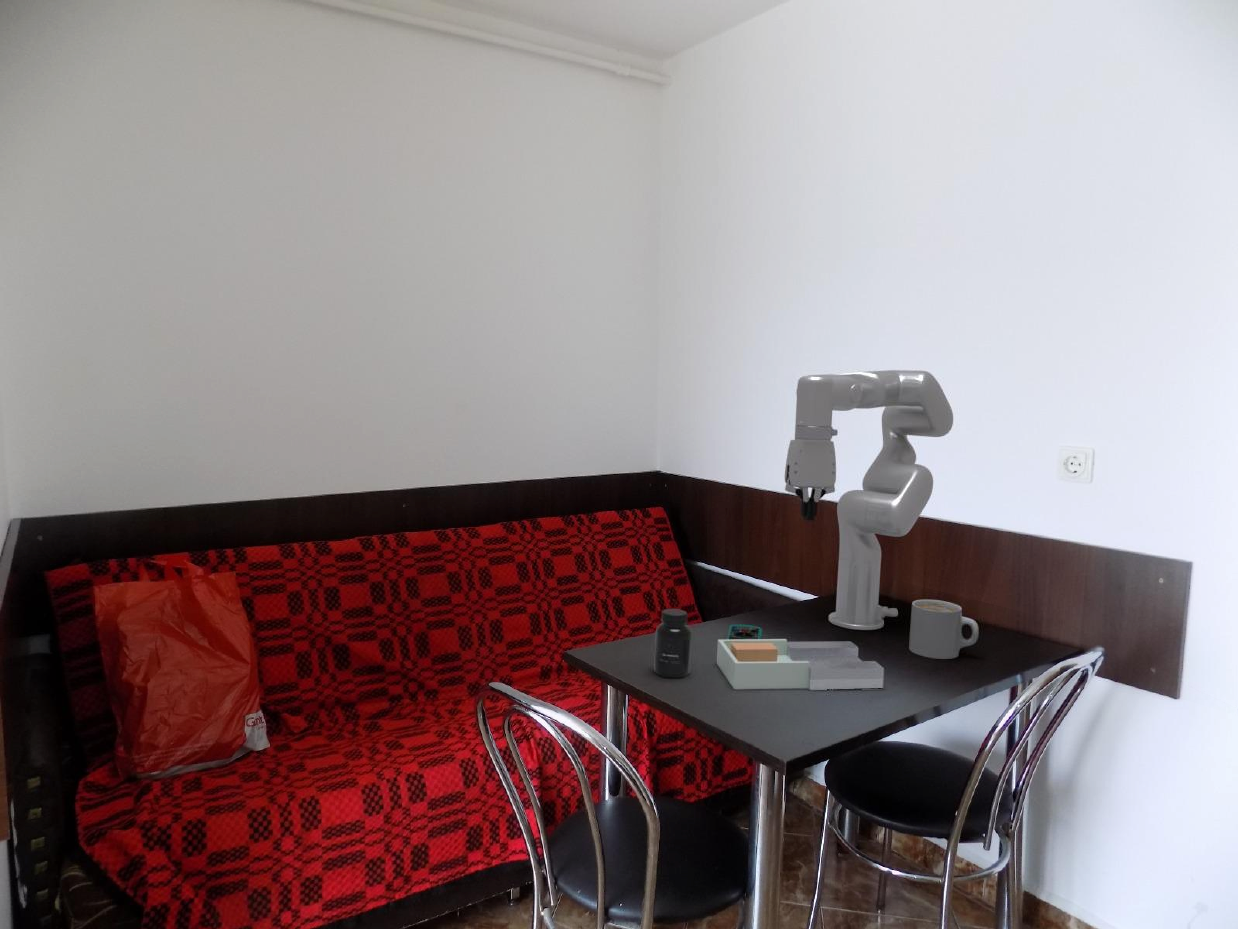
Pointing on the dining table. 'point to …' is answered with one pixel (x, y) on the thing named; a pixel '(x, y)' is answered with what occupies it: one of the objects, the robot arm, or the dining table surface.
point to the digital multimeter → (744, 632)
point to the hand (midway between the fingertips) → (808, 519)
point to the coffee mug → (939, 629)
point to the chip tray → (762, 668)
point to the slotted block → (836, 665)
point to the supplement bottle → (672, 645)
